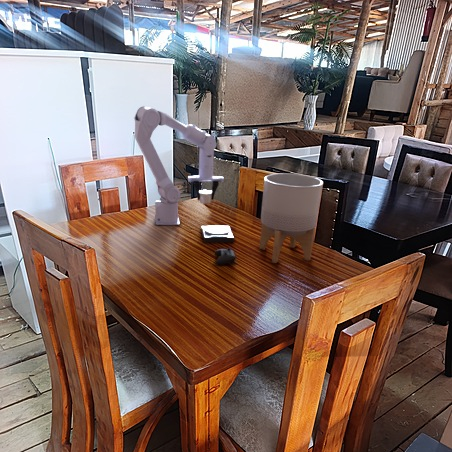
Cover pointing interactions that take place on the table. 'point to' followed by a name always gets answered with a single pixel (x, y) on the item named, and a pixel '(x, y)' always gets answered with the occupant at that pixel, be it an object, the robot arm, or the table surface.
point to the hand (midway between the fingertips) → (205, 199)
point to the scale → (217, 234)
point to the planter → (290, 211)
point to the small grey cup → (205, 196)
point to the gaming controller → (225, 256)
